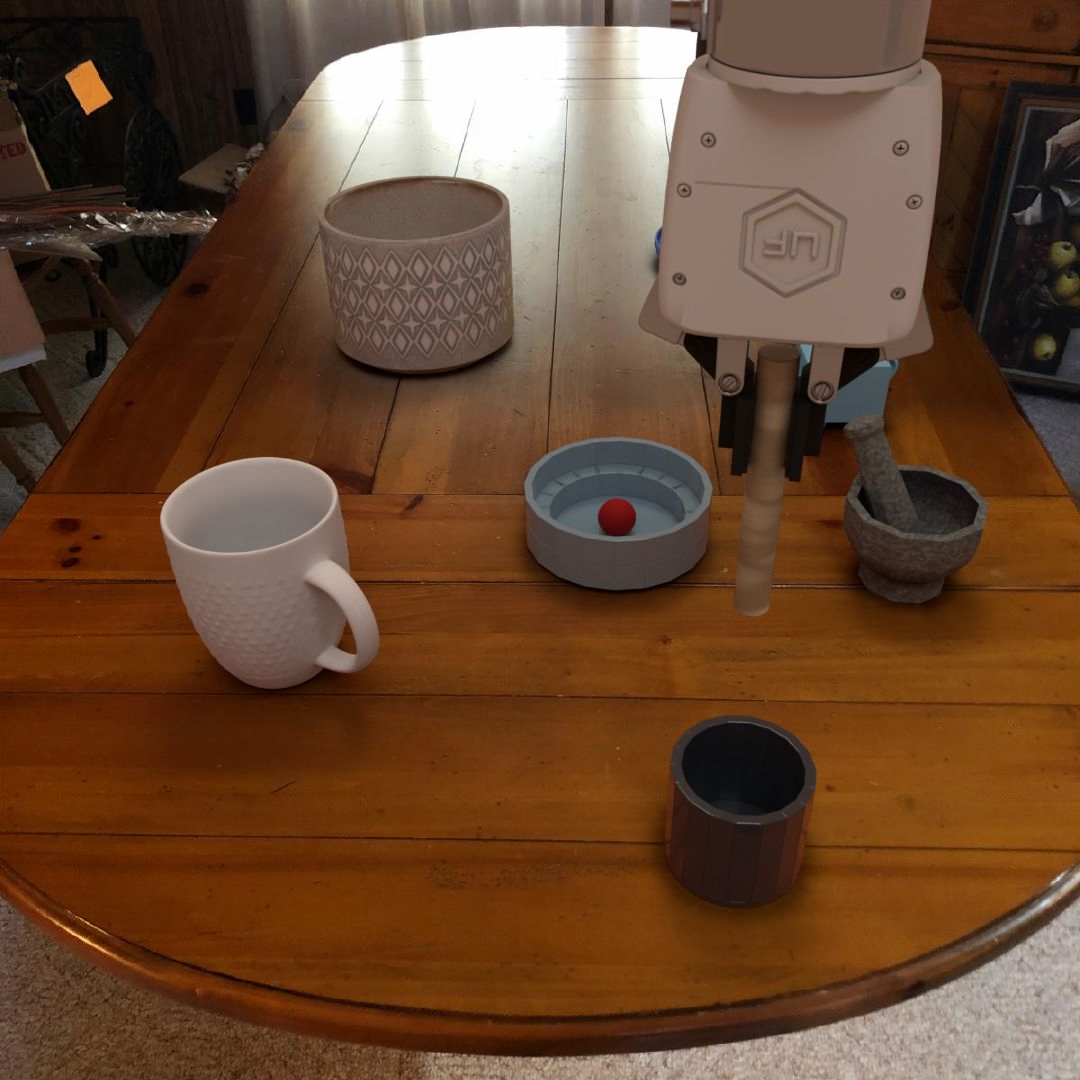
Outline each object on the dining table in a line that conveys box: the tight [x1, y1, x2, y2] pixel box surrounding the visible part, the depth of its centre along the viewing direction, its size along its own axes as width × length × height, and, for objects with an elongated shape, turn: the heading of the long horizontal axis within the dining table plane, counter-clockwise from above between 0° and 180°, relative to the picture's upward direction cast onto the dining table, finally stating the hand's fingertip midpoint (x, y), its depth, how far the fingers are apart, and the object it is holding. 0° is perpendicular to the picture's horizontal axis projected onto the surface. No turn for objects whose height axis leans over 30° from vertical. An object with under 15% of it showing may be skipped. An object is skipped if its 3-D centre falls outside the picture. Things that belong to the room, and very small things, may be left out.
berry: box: [598, 498, 636, 537], centre depth 85 cm, size 3×3×3 cm
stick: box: [732, 342, 801, 617], centre depth 51 cm, size 2×2×14 cm
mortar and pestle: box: [843, 414, 991, 604], centre depth 79 cm, size 11×9×12 cm
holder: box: [664, 714, 818, 909], centre depth 60 cm, size 8×8×7 cm
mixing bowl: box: [523, 436, 714, 591], centre depth 85 cm, size 14×14×5 cm
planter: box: [316, 175, 515, 375], centre depth 111 cm, size 19×19×14 cm
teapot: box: [795, 344, 899, 428], centre depth 99 cm, size 12×6×8 cm, turn 89°
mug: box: [159, 456, 380, 690], centre depth 71 cm, size 15×11×13 cm
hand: (767, 460), depth 50 cm, fingers closed on stick, 1 cm apart
